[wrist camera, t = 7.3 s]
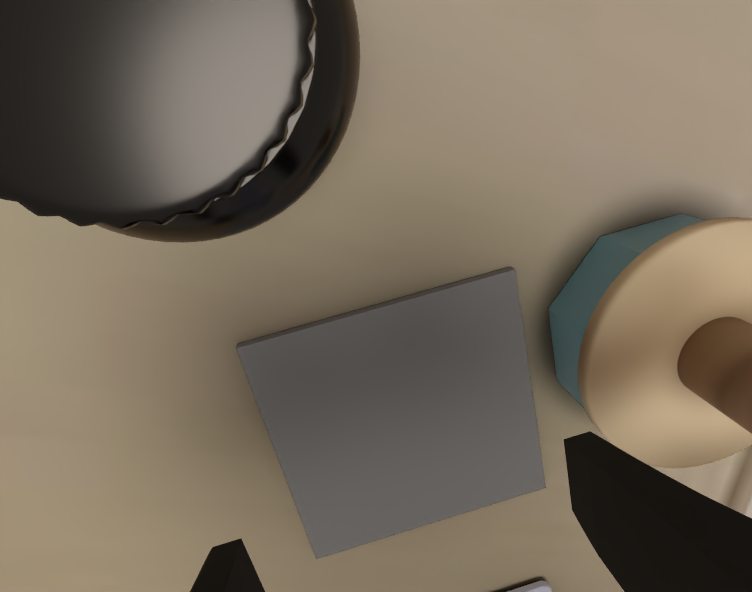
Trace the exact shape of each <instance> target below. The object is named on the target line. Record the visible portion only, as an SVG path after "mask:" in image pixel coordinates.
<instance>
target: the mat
mask: <svg viewBox="0 0 752 592" xmlns="http://www.w3.org/2000/svg"><path fill="white" fill-rule="evenodd" d="M236 349H237V352H238V355H239V357H240V360H241V363H242V365H243V368H244V370H245V373H246V376H247V378H248V381H249V384H250V386H251V389H252V391H253V394H254V397H255V399H256V402H257V405H258V407H259V410H260V412H261V415H262V418H263V420H264V423H265V426H266V428H267V431H268V433H269V436H270V439H271V441H272V444H273V447H274V449H275V452H276V454H277V457H278V460H279V462H280V465H281V468H282V470H283V473H284V475H285V478H286V481H287V483H288V486H289V489H290V491H291V494H292V496H293V499H294V502H295V504H296V507H297V510H298V512H299V515H300V517H301V520H302V523H303V525H304V528H305V531H306V533H307V536H308V538H309V541H310V544H311V546H312V549H313V552H314V554H315V557H316V559H318V558H322V557H325V556H328V555H331V554H334V553H338V552H341V551H344V550H347V549H350V548H354V547H357V546H360V545H363V544H366V543H370V542H373V541H376V540H379V539H383V538H386V537H389V536H392V535H395V534H399V533H402V532H405V531H408V530H411V529H415V528H418V527H421V526H424V525H427V524H431V523H434V522H437V521H440V520H443V519H447V518H450V517H453V516H456V515H459V514H463V513H466V512H469V511H472V510H475V509H479V508H482V507H485V506H488V505H491V504H495V503H498V502H501V501H504V500H507V499H511V498H514V497H517V496H520V495H523V494H527V493H530V492H533V491H536V490H539V489H543V488H546V485H545V477H544V470H543V463H542V456H541V449H540V442H539V435H538V428H537V421H536V414H535V406H534V399H533V392H532V385H531V378H530V371H529V364H528V357H527V350H526V343H525V336H524V328H523V321H522V314H521V307H520V300H519V293H518V286H517V279H516V272H515V269H514V268H512V267H508V268H504V269H501V270H497V271H494V272H490V273H486V274H483V275H479V276H476V277H472V278H469V279H465V280H462V281H458V282H455V283H451V284H447V285H444V286H440V287H437V288H433V289H430V290H426V291H423V292H419V293H416V294H412V295H409V296H405V297H401V298H398V299H394V300H391V301H387V302H384V303H380V304H377V305H373V306H370V307H366V308H362V309H359V310H355V311H352V312H348V313H345V314H341V315H338V316H334V317H331V318H327V319H324V320H320V321H316V322H313V323H309V324H306V325H302V326H299V327H295V328H292V329H288V330H285V331H281V332H277V333H274V334H270V335H267V336H263V337H260V338H256V339H253V340H249V341H246V342H242V343H239V344H237V347H236Z"/></svg>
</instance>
